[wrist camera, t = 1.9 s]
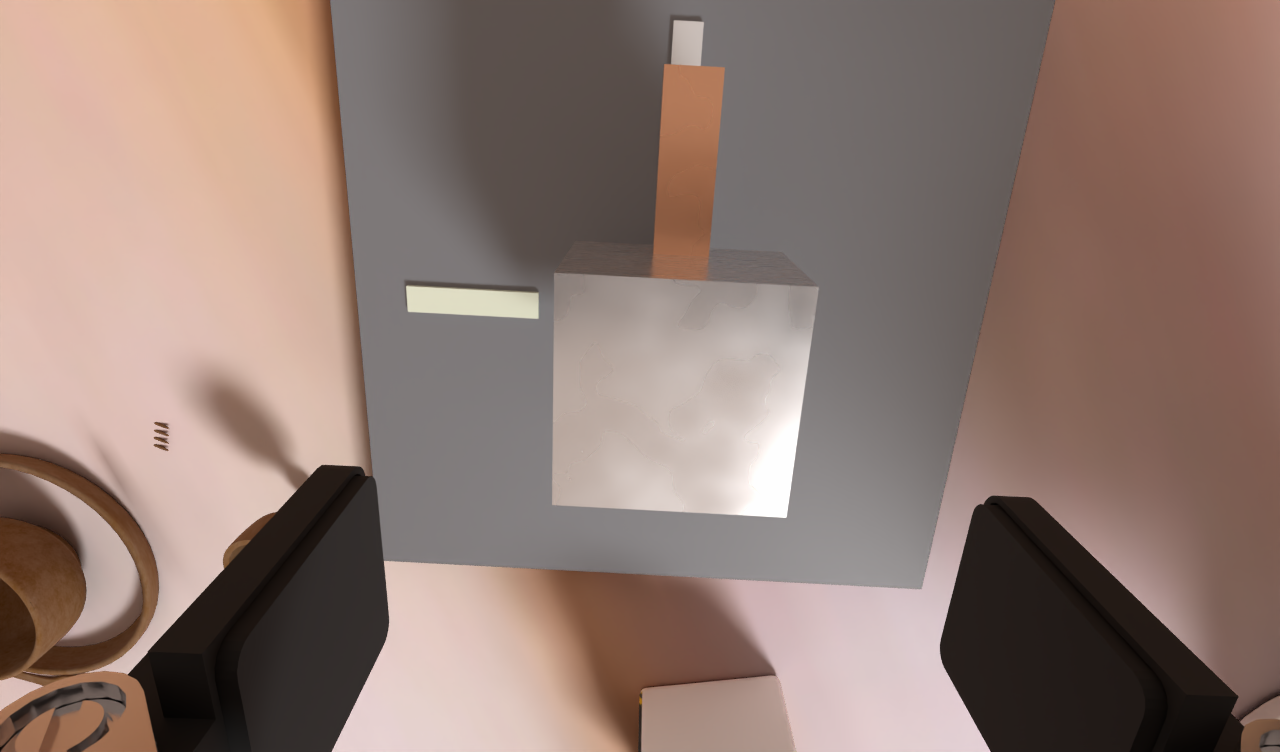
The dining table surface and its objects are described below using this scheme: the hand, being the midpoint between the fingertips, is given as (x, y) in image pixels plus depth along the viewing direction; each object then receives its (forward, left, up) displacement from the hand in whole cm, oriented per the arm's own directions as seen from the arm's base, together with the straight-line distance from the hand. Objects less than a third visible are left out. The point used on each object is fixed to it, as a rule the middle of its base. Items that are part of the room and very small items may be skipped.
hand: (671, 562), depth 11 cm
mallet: (0, -2, -12) cm, 13 cm away
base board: (0, 0, -19) cm, 19 cm away
